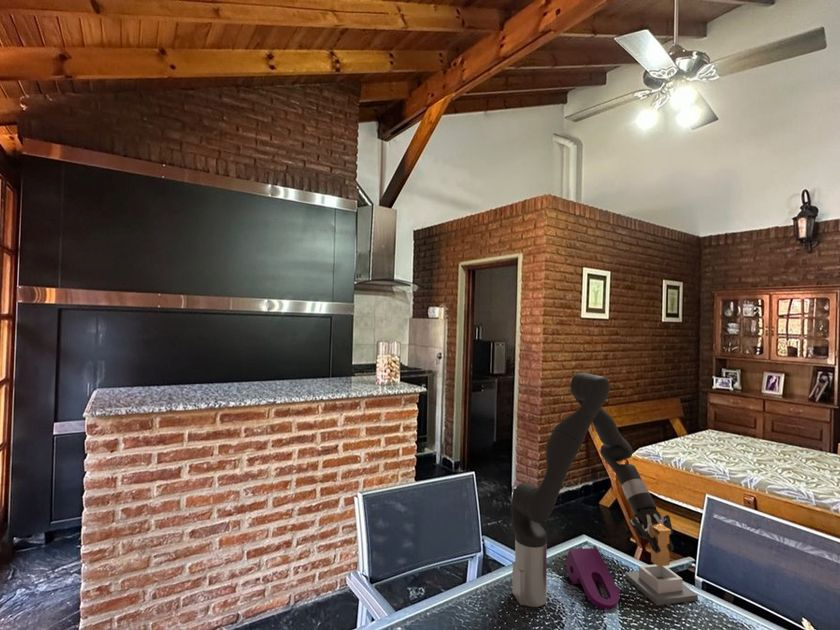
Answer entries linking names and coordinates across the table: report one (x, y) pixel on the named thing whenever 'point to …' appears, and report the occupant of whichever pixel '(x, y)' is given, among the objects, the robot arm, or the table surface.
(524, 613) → the table surface
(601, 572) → the mounting bracket
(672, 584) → the socket plate
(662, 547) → the locking wedge
